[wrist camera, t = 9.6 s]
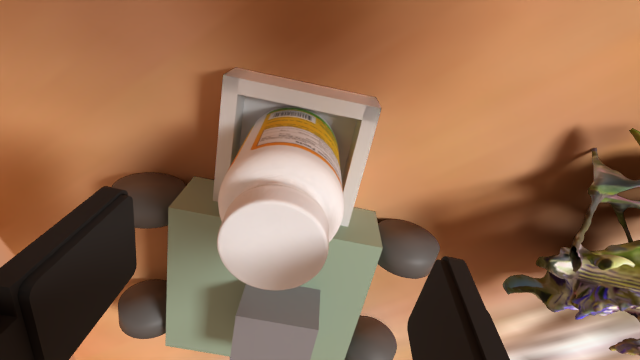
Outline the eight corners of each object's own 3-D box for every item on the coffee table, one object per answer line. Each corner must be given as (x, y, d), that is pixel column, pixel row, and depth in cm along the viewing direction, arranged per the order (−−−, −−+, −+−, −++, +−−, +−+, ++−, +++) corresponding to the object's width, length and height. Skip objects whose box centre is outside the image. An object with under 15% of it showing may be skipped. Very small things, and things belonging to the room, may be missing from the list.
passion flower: (530, 212, 30) (493, 337, 23) (543, 90, 23) (497, 212, 16) (730, 248, 23) (765, 442, 16) (823, 93, 17) (945, 298, 10)
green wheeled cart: (473, 118, 21) (535, 165, 14) (386, 336, 29) (400, 429, 22) (129, 44, 20) (33, 61, 13) (136, 292, 28) (78, 377, 21)
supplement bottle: (285, 203, 23) (263, 325, 14) (228, 139, 21) (162, 236, 12) (355, 158, 22) (378, 263, 13) (301, 84, 20) (284, 150, 11)
